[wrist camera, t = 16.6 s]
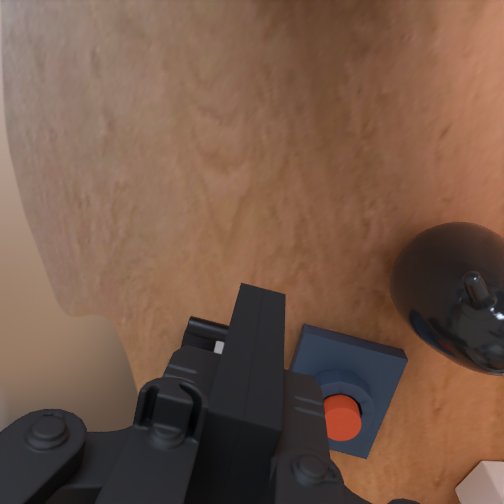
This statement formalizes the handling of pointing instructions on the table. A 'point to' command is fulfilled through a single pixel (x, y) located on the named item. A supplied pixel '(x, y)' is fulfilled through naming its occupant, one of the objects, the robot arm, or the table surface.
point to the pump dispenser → (454, 293)
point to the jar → (483, 484)
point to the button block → (351, 378)
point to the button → (342, 417)
